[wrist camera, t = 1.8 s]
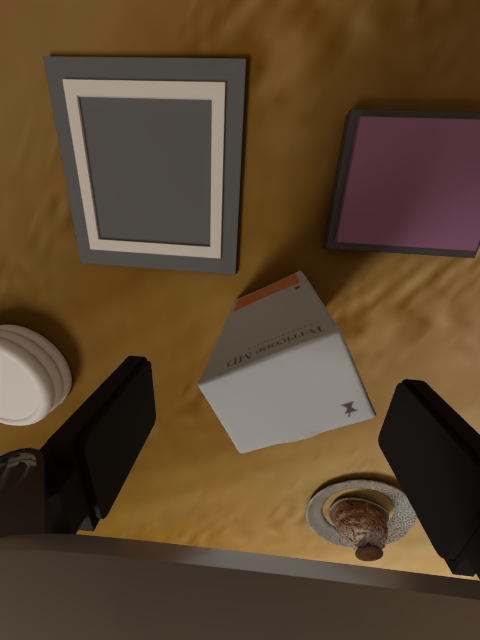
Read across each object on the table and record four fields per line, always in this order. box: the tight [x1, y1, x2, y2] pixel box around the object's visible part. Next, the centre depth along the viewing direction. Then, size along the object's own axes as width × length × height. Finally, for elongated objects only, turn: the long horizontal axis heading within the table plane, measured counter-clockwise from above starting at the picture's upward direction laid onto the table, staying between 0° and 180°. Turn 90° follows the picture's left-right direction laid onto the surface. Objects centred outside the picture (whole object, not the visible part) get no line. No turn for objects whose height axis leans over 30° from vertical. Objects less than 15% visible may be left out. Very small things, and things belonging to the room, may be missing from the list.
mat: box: [43, 56, 246, 275], centre depth 18 cm, size 13×13×1 cm
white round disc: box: [0, 325, 72, 425], centre depth 24 cm, size 10×10×4 cm
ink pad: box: [323, 109, 480, 258], centre depth 16 cm, size 10×8×2 cm
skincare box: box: [198, 271, 376, 453], centre depth 15 cm, size 6×4×12 cm
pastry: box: [306, 480, 417, 561], centre depth 27 cm, size 12×12×5 cm
